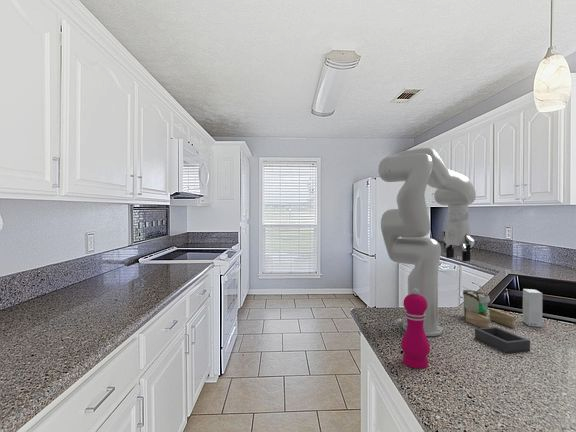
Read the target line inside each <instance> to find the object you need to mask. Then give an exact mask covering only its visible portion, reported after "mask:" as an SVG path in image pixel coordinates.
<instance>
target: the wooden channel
mask: <svg viewBox="0 0 576 432" xmlns="http://www.w3.org/2000/svg"><path fill="white" fill-rule="evenodd" d="M488 310H489V312H488V313H489V315H488V316H487V317H485V316H483V315H480V314H478V313H475V312H472V311H470V310H466V317H465V322H467V323H469V324H472V325H474V326H476V327H477V328H488V327H491V321H493V322H495V323H497V324H498V323H499V324H501V325H504V326H506V327H509V328H511V329H516V316H515V315H513V314H510V313H507V312H505V311H501V310H498V309H495V308H491V307H490V308H489V309H488Z"/></svg>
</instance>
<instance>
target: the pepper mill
mask: <svg viewBox="0 0 576 432" xmlns="http://www.w3.org/2000/svg"><path fill="white" fill-rule="evenodd" d="M412 293H413V294H409V295H408V294H407V295H406V296H405V298H404V299H403V301H402V302H403V303H402V304H403V307H404V309H405V310H406V311H405V313H404V314H405V315H404V318H405V317H406V318H407V330H406V331H405V332H404V334H403V336H402V338H401V344H400V348H401V350H402V352H403V355H402V363H403V365H405V366H407V367H409V368H412V369H413V368H414V369H419V370H420V369H425V368H428V366H429V359H428V355H429V353H430V352H431V345H430V342H429V340H428V336H426V335H425V332H424V328H423V322H424V320H425V319H426V318H425V315H426V314H425V313H424V312H425V311H426V309H427V306H428V305H427V300H426V299H425V298H424V297H423V296H422V295H419V290H418V289H416V288H414V289H412Z"/></svg>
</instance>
